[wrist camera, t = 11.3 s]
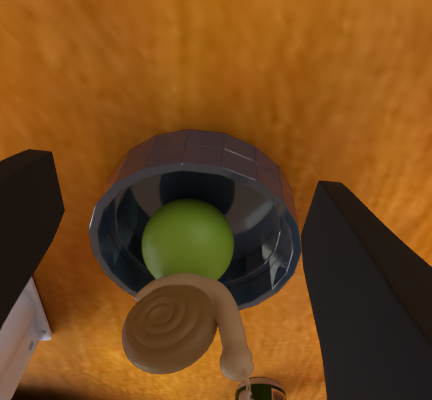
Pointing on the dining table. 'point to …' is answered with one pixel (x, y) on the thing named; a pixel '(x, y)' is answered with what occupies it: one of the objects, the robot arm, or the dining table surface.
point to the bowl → (206, 191)
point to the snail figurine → (187, 295)
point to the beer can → (263, 389)
